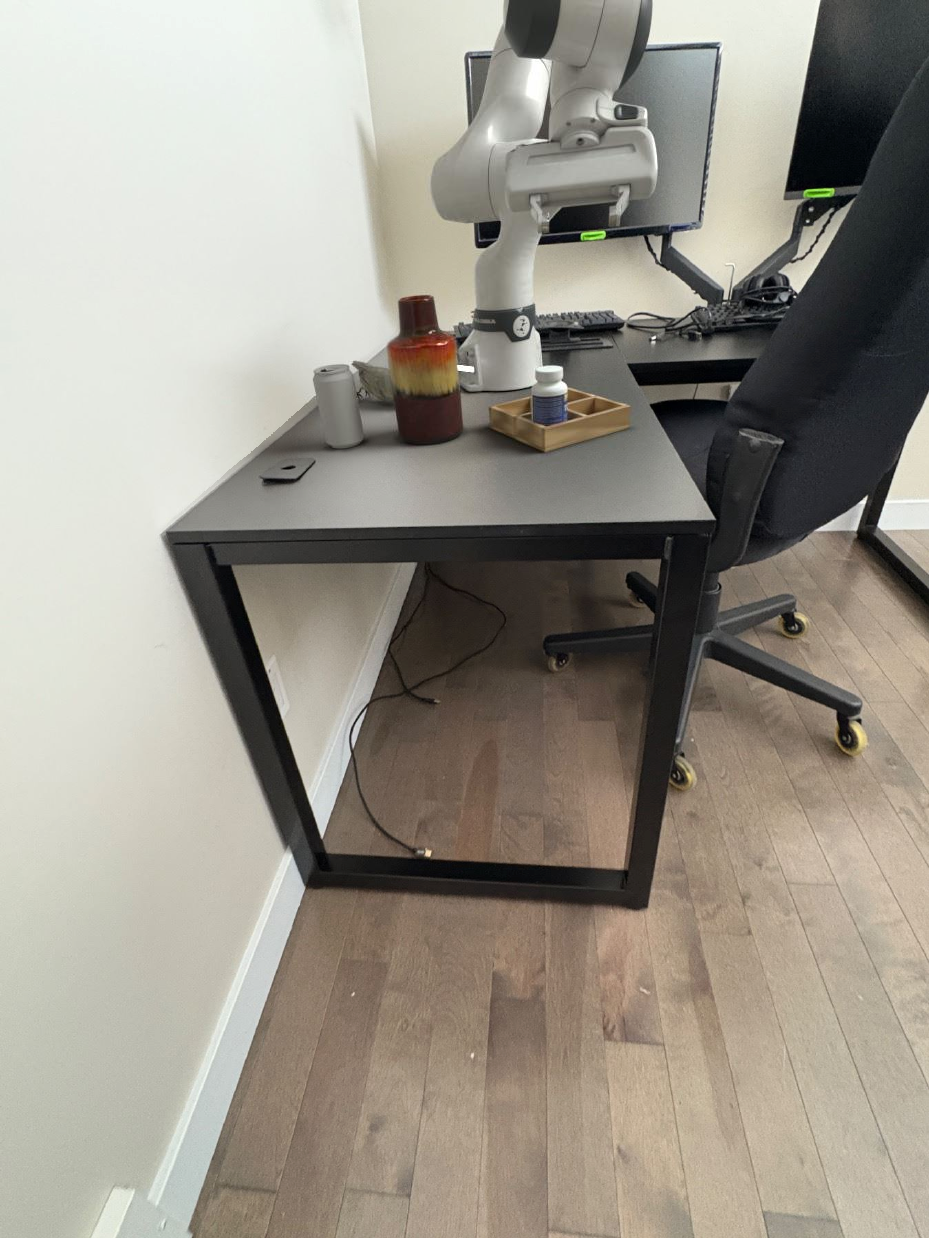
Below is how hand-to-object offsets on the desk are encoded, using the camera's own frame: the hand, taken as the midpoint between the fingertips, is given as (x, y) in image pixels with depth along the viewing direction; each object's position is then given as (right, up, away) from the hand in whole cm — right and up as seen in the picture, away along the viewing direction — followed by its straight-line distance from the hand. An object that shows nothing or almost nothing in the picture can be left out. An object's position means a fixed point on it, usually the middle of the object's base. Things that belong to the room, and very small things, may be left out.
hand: (578, 226), depth 81 cm
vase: (-21, -22, +20) cm, 36 cm away
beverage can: (-35, -24, +20) cm, 47 cm away
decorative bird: (-31, -10, +38) cm, 50 cm away
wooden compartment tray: (0, -22, +17) cm, 28 cm away
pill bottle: (-2, -24, +12) cm, 27 cm away
